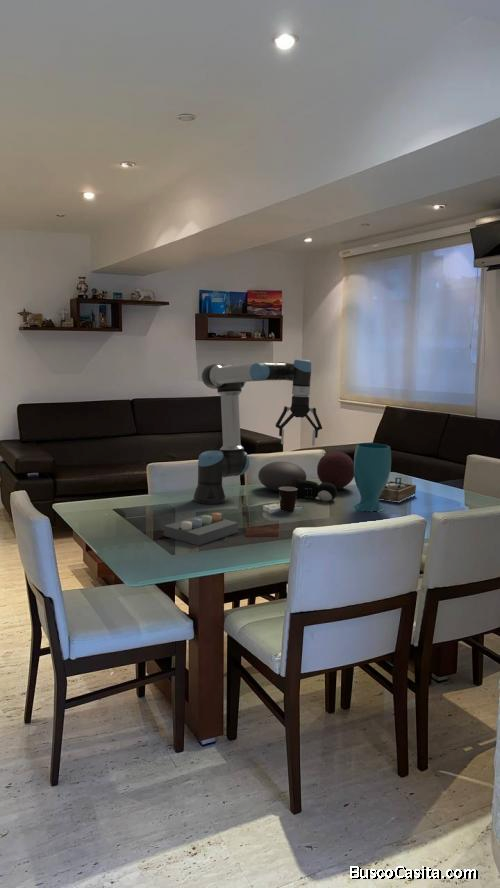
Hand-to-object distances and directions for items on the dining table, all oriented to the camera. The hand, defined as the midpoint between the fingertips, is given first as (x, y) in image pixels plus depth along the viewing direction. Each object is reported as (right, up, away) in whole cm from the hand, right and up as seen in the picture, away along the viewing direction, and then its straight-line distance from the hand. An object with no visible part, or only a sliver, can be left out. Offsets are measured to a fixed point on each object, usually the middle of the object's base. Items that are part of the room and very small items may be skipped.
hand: (297, 444), depth 292 cm
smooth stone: (-4, -24, +56) cm, 61 cm away
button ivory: (-45, -33, -35) cm, 66 cm away
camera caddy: (+52, -27, +49) cm, 77 cm away
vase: (+35, -30, +25) cm, 53 cm away
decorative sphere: (+24, -24, +65) cm, 73 cm away
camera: (+52, -27, +50) cm, 77 cm away
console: (-40, -35, -27) cm, 60 cm away
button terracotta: (-35, -32, -20) cm, 51 cm away
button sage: (-38, -32, -25) cm, 56 cm away
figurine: (+12, -27, +40) cm, 49 cm away
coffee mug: (-3, -30, +17) cm, 35 cm away
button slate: (-42, -33, -30) cm, 61 cm away
